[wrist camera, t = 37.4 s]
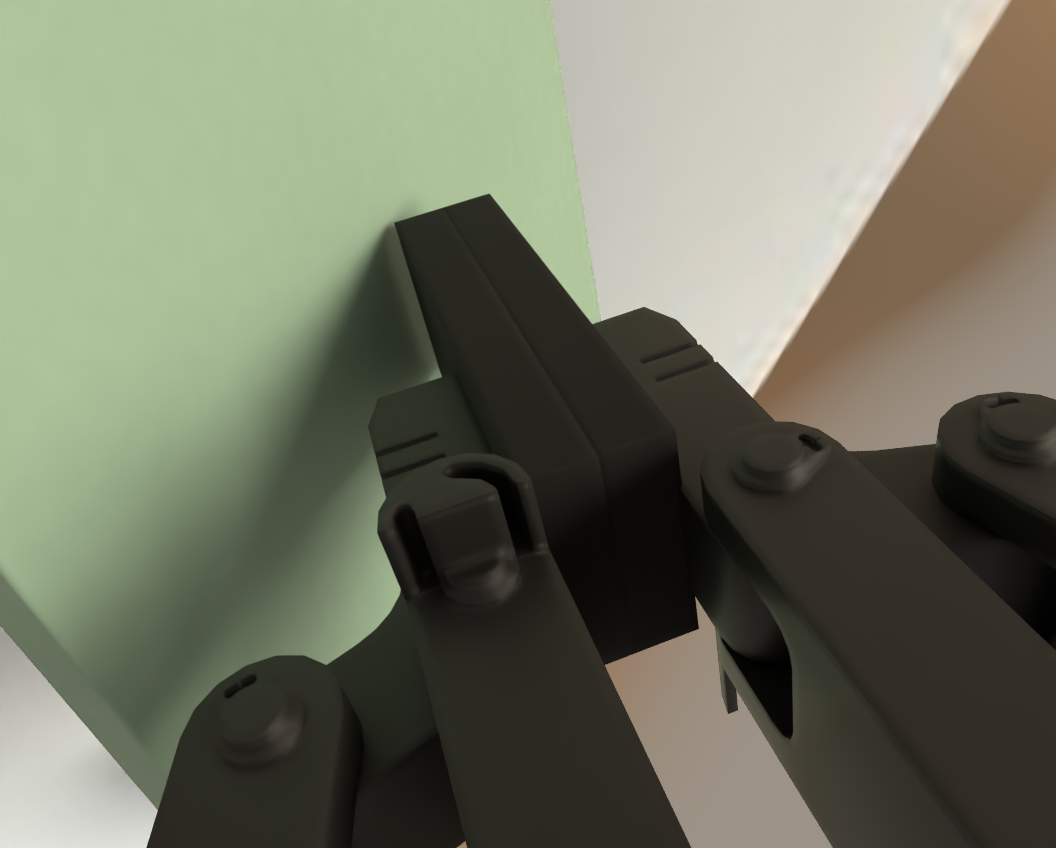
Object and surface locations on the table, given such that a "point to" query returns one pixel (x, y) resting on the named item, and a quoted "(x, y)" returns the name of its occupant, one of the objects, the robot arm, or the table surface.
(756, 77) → the table surface
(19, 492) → the lid
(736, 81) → the table surface
